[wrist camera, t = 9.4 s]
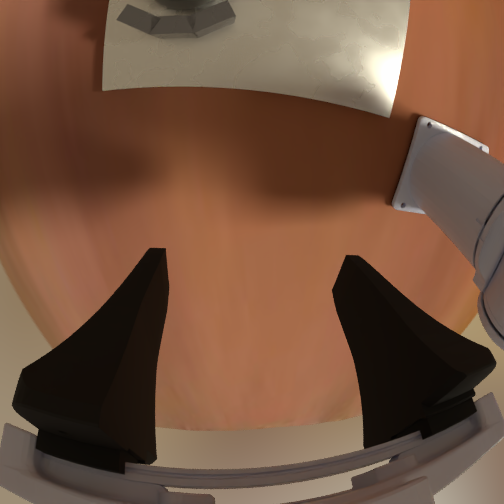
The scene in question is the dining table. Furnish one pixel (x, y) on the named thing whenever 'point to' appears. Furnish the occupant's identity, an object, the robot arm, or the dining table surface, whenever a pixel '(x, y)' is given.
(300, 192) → the dining table surface
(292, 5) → the beige plate
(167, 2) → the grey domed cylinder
